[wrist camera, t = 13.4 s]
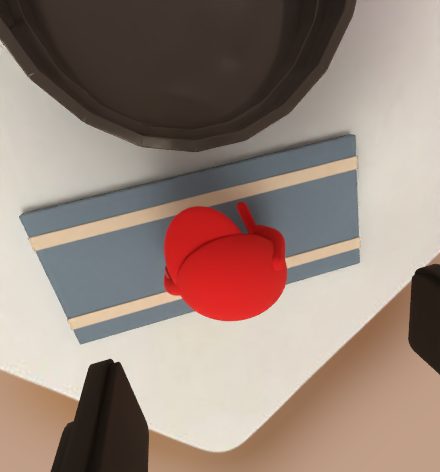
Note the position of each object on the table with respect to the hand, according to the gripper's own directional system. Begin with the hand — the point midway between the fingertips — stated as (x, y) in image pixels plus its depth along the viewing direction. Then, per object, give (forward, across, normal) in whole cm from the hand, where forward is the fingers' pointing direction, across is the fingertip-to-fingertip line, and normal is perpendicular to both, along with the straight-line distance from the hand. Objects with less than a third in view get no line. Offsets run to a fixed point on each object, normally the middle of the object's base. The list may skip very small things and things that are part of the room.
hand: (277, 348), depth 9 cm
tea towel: (+11, 0, +1) cm, 11 cm away
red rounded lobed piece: (+11, 0, +1) cm, 11 cm away
